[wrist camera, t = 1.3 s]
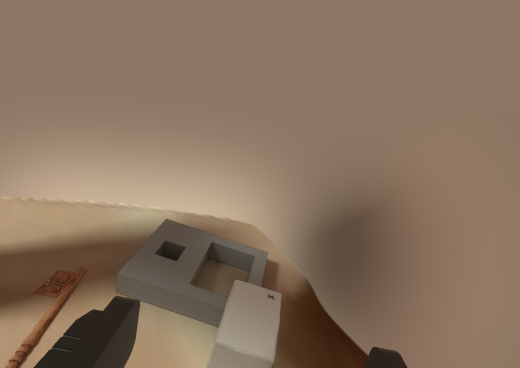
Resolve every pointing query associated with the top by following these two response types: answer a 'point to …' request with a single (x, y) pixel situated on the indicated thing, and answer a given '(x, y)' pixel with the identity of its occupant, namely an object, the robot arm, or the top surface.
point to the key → (51, 312)
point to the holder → (185, 270)
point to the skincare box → (247, 328)
